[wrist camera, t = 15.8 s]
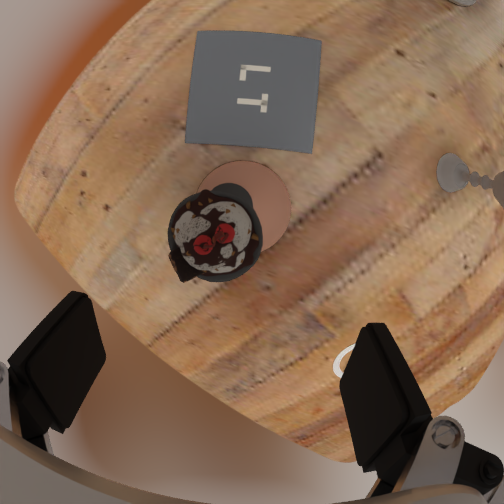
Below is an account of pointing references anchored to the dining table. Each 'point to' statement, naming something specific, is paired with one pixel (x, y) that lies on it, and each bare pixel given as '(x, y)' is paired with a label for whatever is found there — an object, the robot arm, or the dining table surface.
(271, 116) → the card
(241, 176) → the coaster
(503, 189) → the chalice
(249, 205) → the sundae
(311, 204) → the dining table surface
